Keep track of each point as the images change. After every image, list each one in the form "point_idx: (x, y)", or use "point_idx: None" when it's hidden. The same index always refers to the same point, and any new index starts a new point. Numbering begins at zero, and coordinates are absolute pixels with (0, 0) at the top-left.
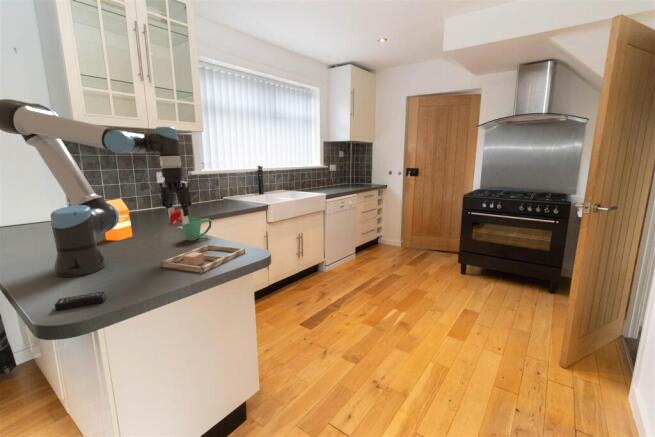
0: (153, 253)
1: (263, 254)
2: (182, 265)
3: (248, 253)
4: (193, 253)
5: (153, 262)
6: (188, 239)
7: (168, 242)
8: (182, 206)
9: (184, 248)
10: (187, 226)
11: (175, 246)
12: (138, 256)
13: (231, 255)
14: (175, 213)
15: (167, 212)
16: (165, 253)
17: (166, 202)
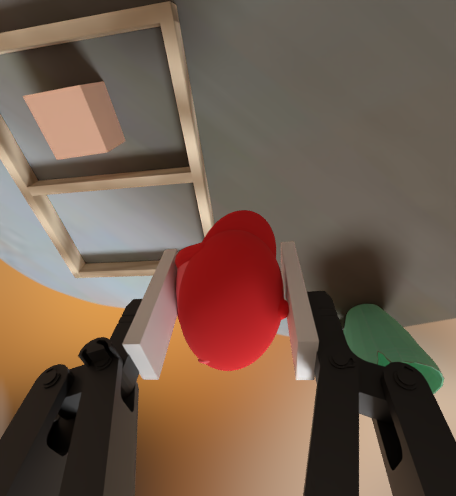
0: (394, 140)
1: (28, 272)
2: (30, 27)
3: (67, 266)
4: (83, 136)
5: (275, 35)
6: (371, 305)
7: (438, 267)
8: (99, 369)
9: (306, 237)
10: (377, 344)
11: (365, 242)
12: (446, 67)
13: (41, 219)
14: (205, 299)
15: (335, 312)
16: (333, 164)
17: (347, 419)
